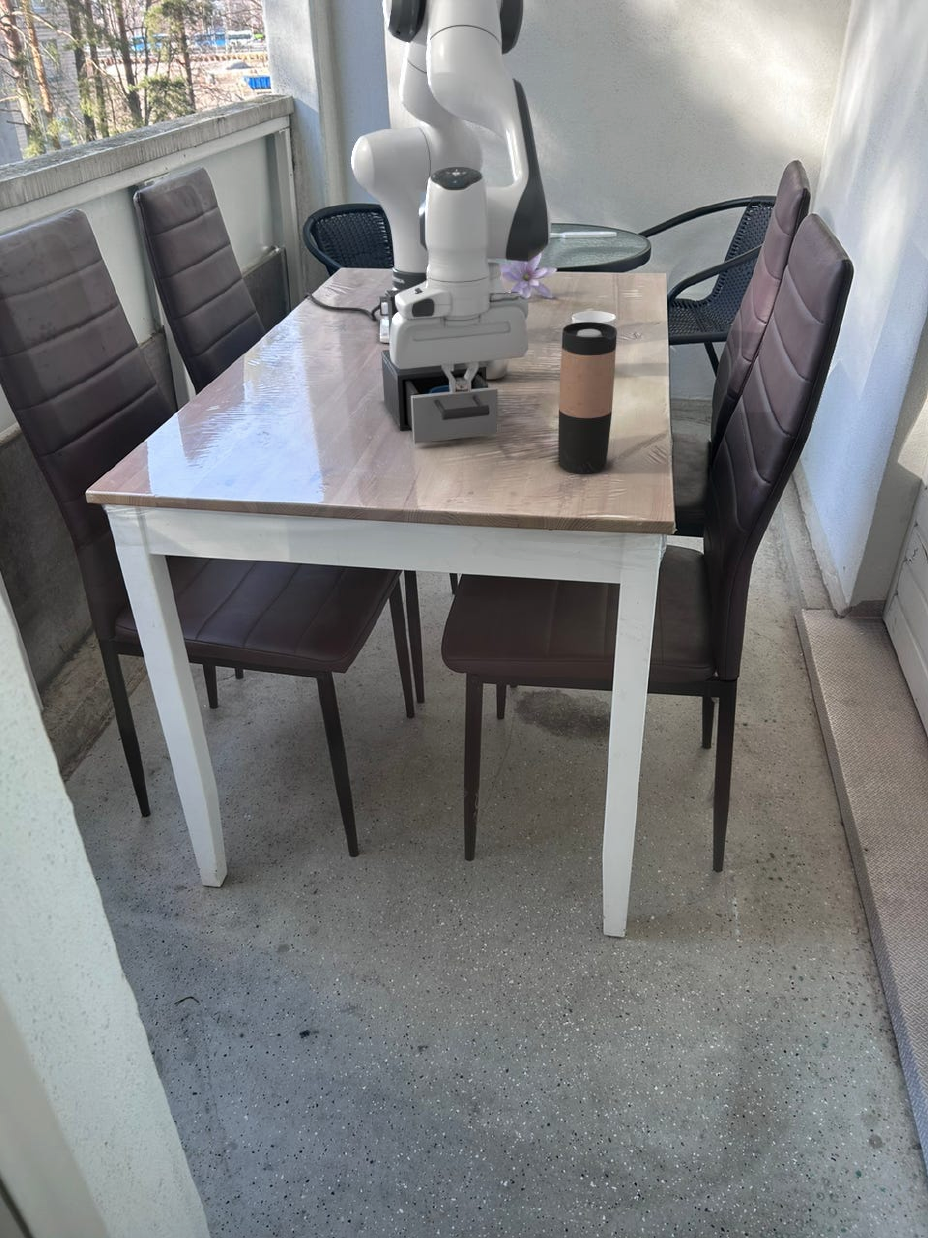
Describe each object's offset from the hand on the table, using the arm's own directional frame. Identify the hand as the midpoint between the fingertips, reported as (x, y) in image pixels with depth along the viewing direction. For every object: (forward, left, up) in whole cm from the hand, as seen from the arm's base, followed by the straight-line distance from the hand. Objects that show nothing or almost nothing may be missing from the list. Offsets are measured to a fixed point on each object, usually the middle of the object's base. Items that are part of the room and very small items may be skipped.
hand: (460, 391), depth 141 cm
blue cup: (-7, 0, -8) cm, 10 cm away
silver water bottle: (-32, +14, -10) cm, 36 cm away
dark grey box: (-18, 0, -10) cm, 20 cm away
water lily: (-85, +38, -10) cm, 93 cm away
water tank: (-23, 0, 0) cm, 23 cm away
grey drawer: (-6, 0, -9) cm, 10 cm away
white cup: (-30, +33, -10) cm, 45 cm away
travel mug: (+10, +16, -10) cm, 21 cm away
